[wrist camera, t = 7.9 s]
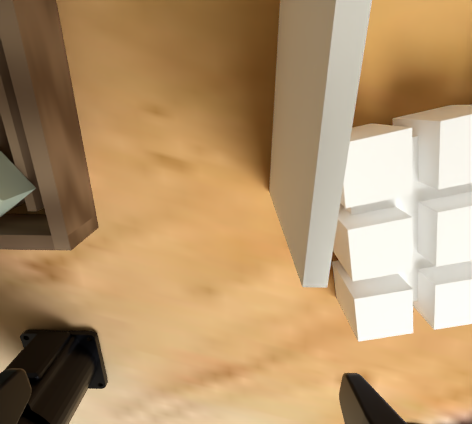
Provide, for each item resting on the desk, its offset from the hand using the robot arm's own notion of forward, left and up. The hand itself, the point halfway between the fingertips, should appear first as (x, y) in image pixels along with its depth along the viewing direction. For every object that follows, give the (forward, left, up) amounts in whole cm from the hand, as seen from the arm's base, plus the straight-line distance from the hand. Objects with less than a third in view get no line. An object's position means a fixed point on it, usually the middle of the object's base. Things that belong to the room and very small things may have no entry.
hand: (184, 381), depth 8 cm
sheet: (+8, -4, -13) cm, 16 cm away
